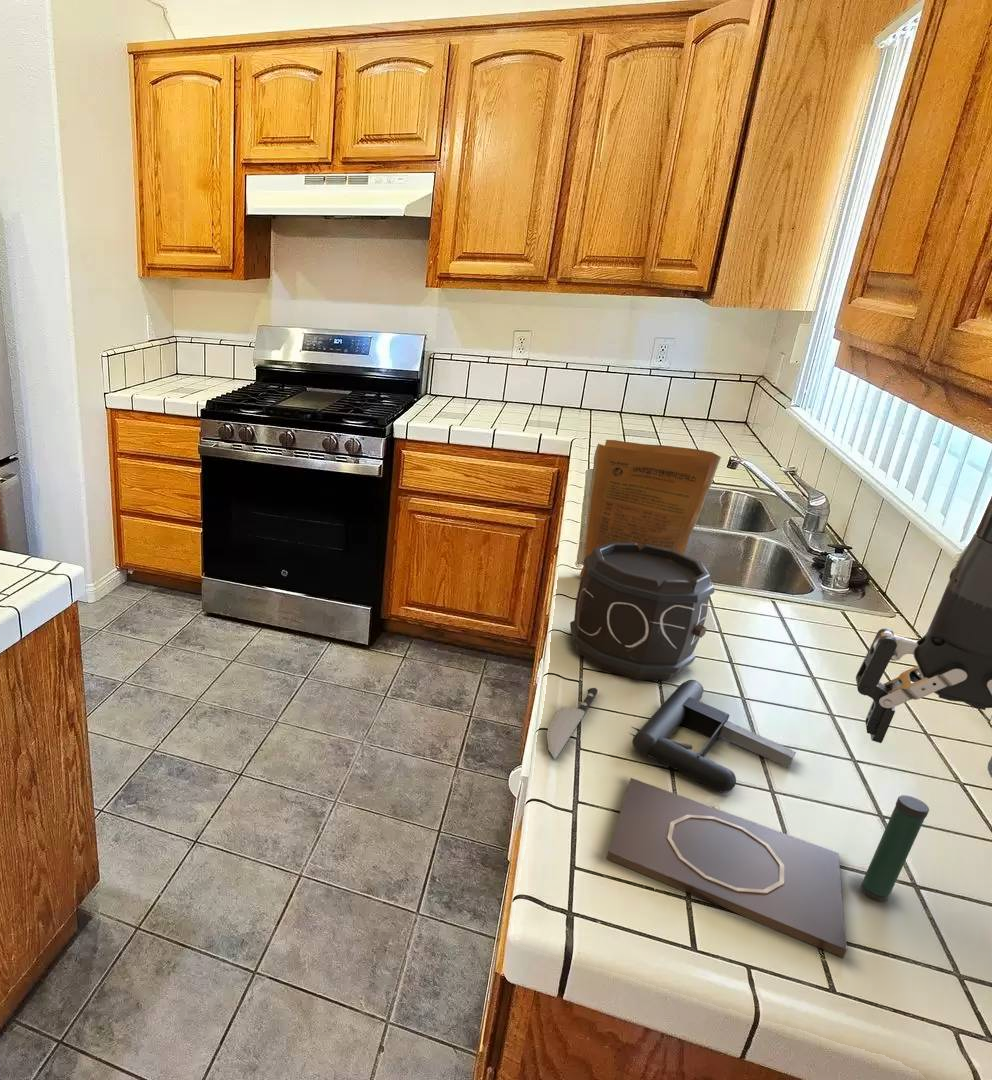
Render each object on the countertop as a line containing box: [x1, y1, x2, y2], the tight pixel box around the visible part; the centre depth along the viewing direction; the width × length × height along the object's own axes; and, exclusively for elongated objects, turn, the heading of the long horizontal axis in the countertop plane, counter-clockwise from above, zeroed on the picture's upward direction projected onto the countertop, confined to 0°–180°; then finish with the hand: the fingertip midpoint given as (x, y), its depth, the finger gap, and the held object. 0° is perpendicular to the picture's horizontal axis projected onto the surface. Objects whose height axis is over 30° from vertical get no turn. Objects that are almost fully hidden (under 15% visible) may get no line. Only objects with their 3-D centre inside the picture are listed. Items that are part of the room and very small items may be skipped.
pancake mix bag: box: [579, 439, 722, 578], centre depth 134 cm, size 7×19×28 cm, turn 57°
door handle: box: [629, 679, 797, 793], centre depth 95 cm, size 3×20×16 cm
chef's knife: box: [546, 687, 599, 760], centre depth 99 cm, size 19×1×3 cm
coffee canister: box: [569, 542, 715, 681], centre depth 114 cm, size 18×18×16 cm
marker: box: [860, 794, 930, 902], centre depth 72 cm, size 2×2×11 cm
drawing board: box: [605, 777, 848, 958], centre depth 77 cm, size 20×14×1 cm
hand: (933, 755), depth 68 cm, fingers open, 8 cm apart
